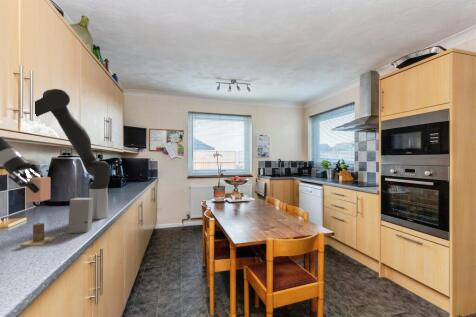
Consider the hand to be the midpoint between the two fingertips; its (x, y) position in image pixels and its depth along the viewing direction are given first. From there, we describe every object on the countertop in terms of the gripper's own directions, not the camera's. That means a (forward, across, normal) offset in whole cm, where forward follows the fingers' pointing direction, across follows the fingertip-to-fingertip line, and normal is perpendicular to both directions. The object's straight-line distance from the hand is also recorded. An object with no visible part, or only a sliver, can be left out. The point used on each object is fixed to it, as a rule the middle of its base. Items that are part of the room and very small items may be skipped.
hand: (43, 190), depth 97 cm
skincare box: (+21, +14, +10) cm, 27 cm away
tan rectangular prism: (+2, 0, +4) cm, 5 cm away
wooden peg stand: (+14, 0, +17) cm, 22 cm away
